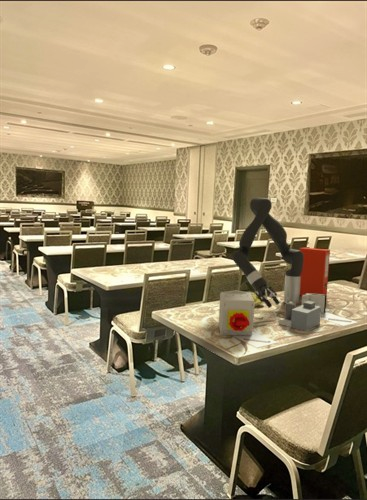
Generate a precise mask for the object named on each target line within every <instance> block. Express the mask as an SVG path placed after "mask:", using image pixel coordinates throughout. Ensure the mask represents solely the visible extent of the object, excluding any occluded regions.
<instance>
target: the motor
mask: <svg viewBox="0 0 367 500" xmlns="http://www.w3.org/2000/svg"><path fill="white" fill-rule="evenodd" d="M321 314H322V313H321V307H320V306H315V302H312V301H306V302H304V303H303V305H302V304H301V305H299V306H296V308H294V309H292V316H291V320H287V319H285V318H278V324H279V325H283V326H286V327H290V328H293V329H297V330H300V331H304V332H307V330H308V331H309V330H311V329H313V328H314V326H315V327H317V326H318V325H320V324H321ZM316 325H317V326H316ZM312 327H313V328H312Z"/></svg>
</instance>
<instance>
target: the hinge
mask: <svg viewBox="0 0 367 500" xmlns="http://www.w3.org/2000/svg"><path fill="white" fill-rule="evenodd" d="M327 296H328V295H327ZM327 296H326V295H323V294H308V293H306V295H302V296H301V305H303V303H304V302H306V301H312V302H315V306H320V307H321V313H320V314H326V311H327V310H326V309H327Z"/></svg>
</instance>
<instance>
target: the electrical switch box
mask: <svg viewBox="0 0 367 500" xmlns="http://www.w3.org/2000/svg"><path fill="white" fill-rule="evenodd" d="M252 295H253V294H252V293H251V292H247V291H242V290H237V289H235V290H229V291H227V290H226V291H221V292H220V293H219V309H218V310H219V312H218V329H219V332H220V335H222V336H252V335H253V331H254V320H255V307H254V299H253V297H252Z"/></svg>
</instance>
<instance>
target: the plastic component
mask: <svg viewBox="0 0 367 500" xmlns="http://www.w3.org/2000/svg"><path fill="white" fill-rule="evenodd" d="M251 295H252V297H253V299H254V308H255V307H258V306H259V305H260V304H262V303H264V302H263V301H262V302H261V301H260V299H259V298H258V296H257V295H256V293H254V294H251ZM261 299H262V298H261Z"/></svg>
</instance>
